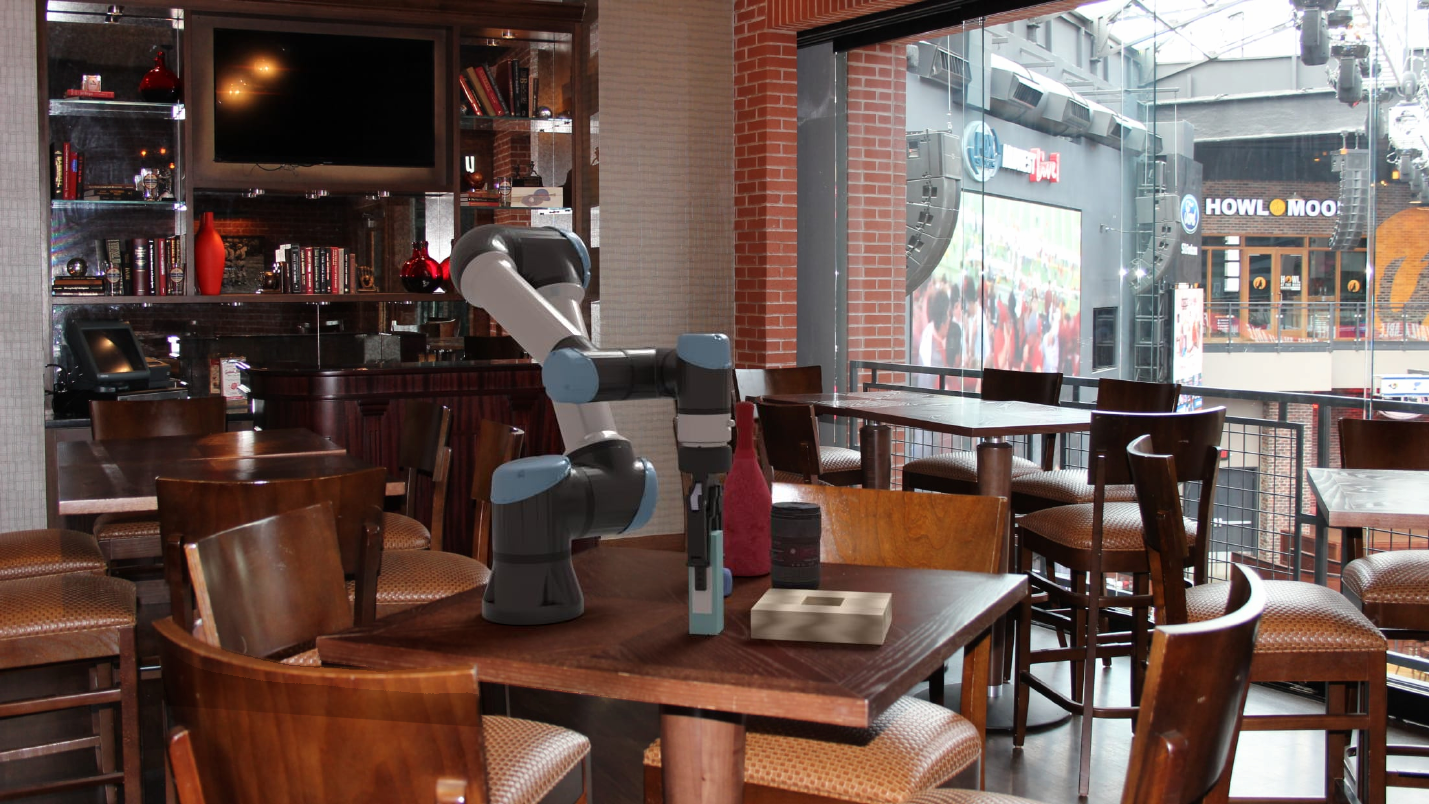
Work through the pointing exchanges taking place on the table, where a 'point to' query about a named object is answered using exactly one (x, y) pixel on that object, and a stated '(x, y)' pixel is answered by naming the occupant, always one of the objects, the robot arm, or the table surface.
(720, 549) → the peg
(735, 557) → the wine bottle
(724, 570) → the decorative dice
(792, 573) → the camera lens
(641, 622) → the table surface
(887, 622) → the socket block
